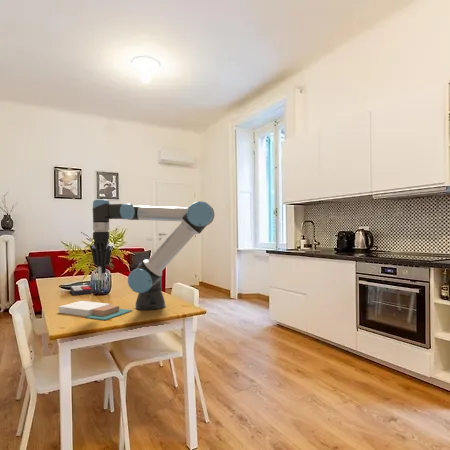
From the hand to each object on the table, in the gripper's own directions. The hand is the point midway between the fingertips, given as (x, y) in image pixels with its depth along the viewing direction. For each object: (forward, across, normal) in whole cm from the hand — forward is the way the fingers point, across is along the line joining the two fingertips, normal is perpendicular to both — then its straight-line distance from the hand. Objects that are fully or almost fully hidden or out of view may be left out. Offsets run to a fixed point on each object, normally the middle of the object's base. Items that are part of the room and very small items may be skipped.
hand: (101, 279), depth 159 cm
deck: (+16, -11, 0) cm, 20 cm away
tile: (+16, +3, 0) cm, 16 cm away
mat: (+16, +5, 0) cm, 17 cm away
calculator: (+17, -52, +35) cm, 65 cm away
